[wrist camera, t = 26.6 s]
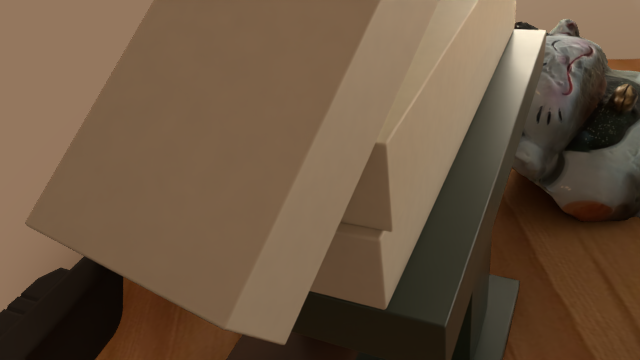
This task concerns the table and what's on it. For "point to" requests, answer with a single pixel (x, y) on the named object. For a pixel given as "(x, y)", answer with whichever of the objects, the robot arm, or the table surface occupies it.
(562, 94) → the lucky cat figurine
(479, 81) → the dark green pedestal stand
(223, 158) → the cream rectangular block
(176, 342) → the table surface
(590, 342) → the table surface
